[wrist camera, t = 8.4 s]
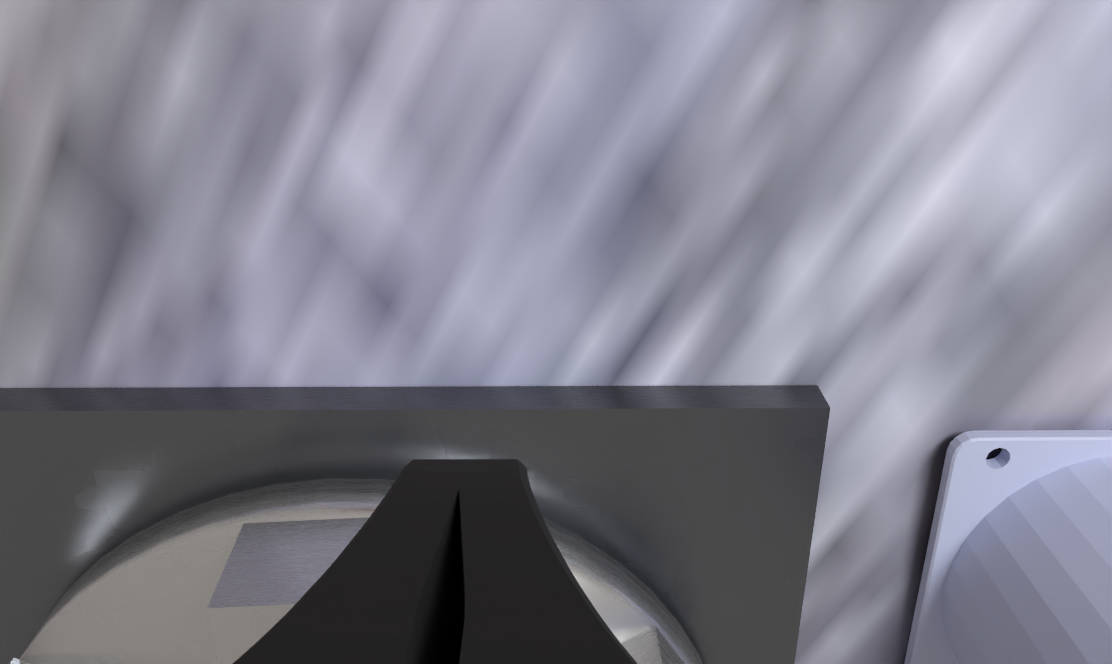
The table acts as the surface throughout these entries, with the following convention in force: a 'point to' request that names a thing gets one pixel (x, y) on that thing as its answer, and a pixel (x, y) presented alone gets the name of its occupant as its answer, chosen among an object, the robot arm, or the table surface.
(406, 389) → the mount plate
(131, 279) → the table surface
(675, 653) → the metal disc with lugs
